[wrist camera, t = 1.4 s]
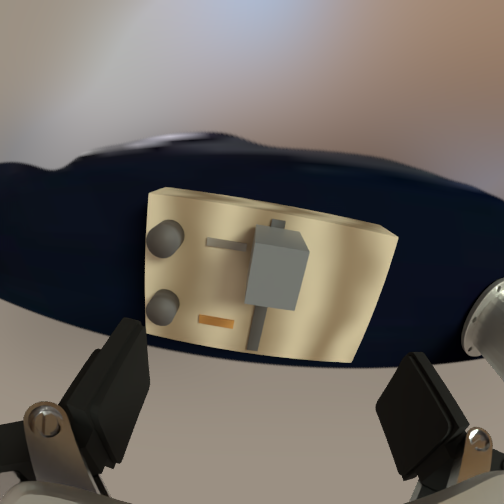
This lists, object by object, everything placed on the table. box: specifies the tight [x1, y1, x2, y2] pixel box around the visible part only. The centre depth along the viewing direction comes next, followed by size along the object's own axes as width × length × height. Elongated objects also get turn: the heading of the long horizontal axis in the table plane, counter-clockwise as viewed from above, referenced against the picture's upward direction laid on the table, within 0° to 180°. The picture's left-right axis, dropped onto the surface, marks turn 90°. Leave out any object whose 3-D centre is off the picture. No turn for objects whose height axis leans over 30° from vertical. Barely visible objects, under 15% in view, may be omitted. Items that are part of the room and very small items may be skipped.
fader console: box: [145, 187, 398, 363], centre depth 23 cm, size 20×13×6 cm, turn 81°
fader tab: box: [244, 224, 310, 311], centre depth 19 cm, size 3×4×4 cm
